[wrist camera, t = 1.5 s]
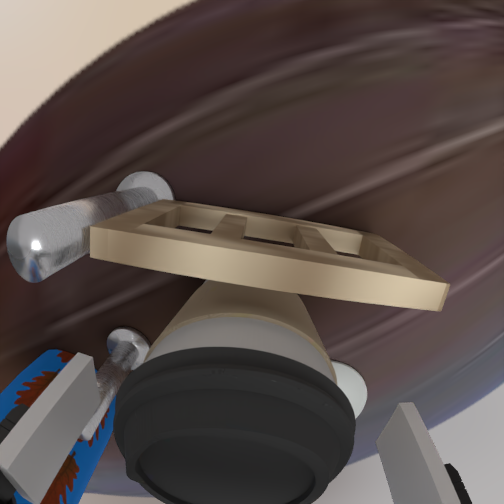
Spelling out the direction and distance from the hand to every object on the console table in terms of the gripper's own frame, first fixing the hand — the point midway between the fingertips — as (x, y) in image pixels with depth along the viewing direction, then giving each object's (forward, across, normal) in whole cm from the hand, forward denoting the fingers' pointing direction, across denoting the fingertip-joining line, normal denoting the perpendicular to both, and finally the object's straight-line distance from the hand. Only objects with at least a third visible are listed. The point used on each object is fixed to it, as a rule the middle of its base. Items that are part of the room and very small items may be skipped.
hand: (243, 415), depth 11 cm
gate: (+10, 0, +6) cm, 12 cm away
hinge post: (+11, -8, +6) cm, 15 cm away
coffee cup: (+11, 0, 0) cm, 11 cm away
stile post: (+11, -10, -6) cm, 16 cm away
